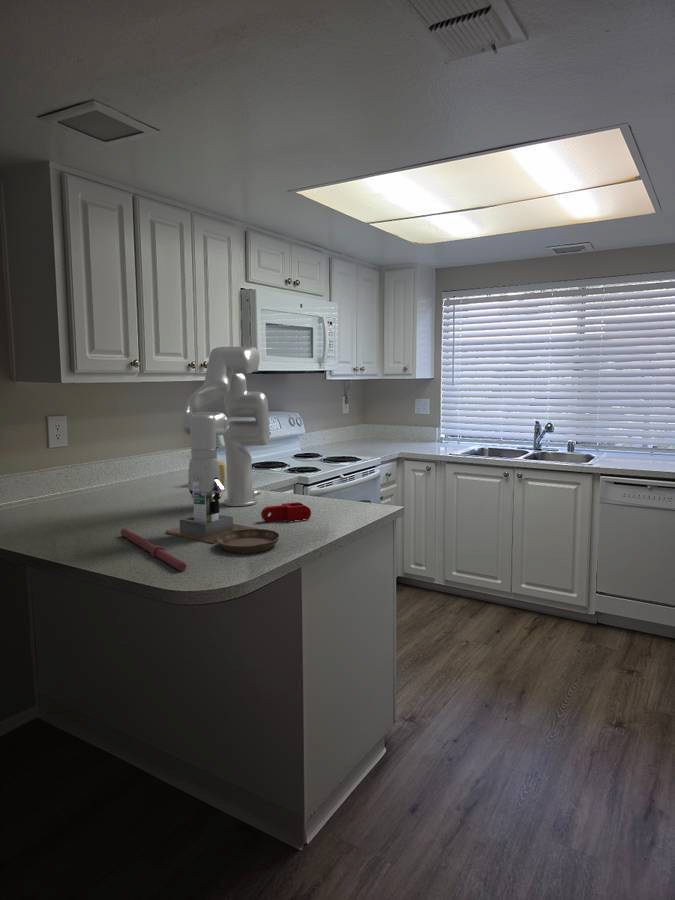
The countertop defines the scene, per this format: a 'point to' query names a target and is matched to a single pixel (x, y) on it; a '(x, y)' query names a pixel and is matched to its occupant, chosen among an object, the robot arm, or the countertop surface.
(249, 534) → the plant saucer
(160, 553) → the rolling pin
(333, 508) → the countertop surface
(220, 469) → the cheese
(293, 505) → the mechanical linkage
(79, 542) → the countertop surface
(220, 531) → the collar
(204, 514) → the syrup box
